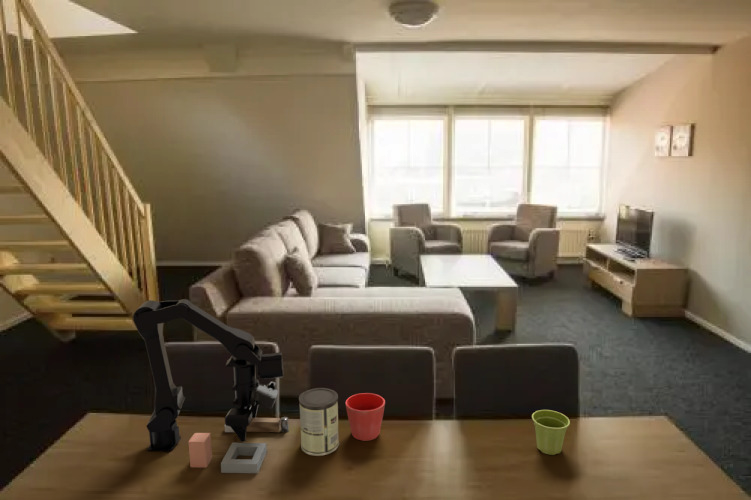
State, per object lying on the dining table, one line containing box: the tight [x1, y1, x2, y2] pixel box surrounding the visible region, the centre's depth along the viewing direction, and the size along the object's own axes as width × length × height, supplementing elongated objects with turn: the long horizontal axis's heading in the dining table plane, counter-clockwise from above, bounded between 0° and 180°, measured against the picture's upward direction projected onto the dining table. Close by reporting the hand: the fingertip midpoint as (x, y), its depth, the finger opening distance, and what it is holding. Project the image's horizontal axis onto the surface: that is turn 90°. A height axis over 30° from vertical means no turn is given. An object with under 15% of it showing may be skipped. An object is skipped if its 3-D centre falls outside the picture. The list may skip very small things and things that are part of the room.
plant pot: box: [531, 409, 571, 456], centre depth 129 cm, size 9×9×9 cm
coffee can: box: [298, 387, 340, 457], centre depth 130 cm, size 10×10×14 cm
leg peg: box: [188, 432, 213, 468], centre depth 123 cm, size 4×4×7 cm
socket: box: [220, 442, 268, 474], centre depth 124 cm, size 9×9×2 cm
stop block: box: [224, 424, 235, 433], centre depth 139 cm, size 3×3×2 cm
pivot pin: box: [280, 416, 290, 433], centre depth 138 cm, size 2×2×4 cm
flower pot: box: [344, 392, 386, 442], centre depth 136 cm, size 11×11×10 cm
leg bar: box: [247, 417, 281, 433], centre depth 139 cm, size 11×2×3 cm, turn 87°
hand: (248, 431), depth 136 cm, fingers open, 9 cm apart
